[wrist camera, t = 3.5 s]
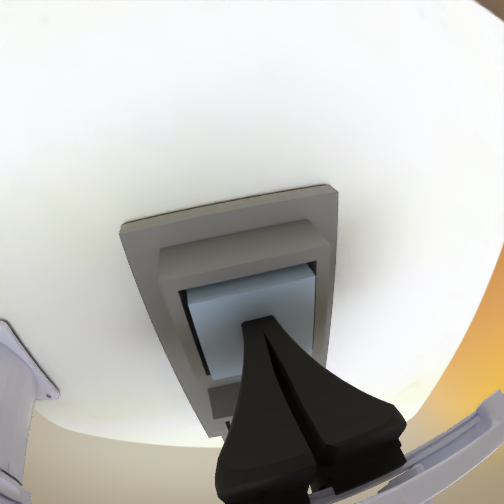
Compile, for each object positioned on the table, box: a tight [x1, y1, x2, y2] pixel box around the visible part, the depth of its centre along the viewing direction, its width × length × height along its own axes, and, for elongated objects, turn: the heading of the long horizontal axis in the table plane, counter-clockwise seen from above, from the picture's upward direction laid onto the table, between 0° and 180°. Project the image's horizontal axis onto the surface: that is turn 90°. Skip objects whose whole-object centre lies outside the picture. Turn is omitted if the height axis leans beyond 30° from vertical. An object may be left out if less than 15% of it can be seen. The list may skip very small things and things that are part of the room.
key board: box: [119, 185, 338, 442], centre depth 18 cm, size 10×20×4 cm, turn 6°
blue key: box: [187, 263, 315, 380], centre depth 14 cm, size 5×5×2 cm
